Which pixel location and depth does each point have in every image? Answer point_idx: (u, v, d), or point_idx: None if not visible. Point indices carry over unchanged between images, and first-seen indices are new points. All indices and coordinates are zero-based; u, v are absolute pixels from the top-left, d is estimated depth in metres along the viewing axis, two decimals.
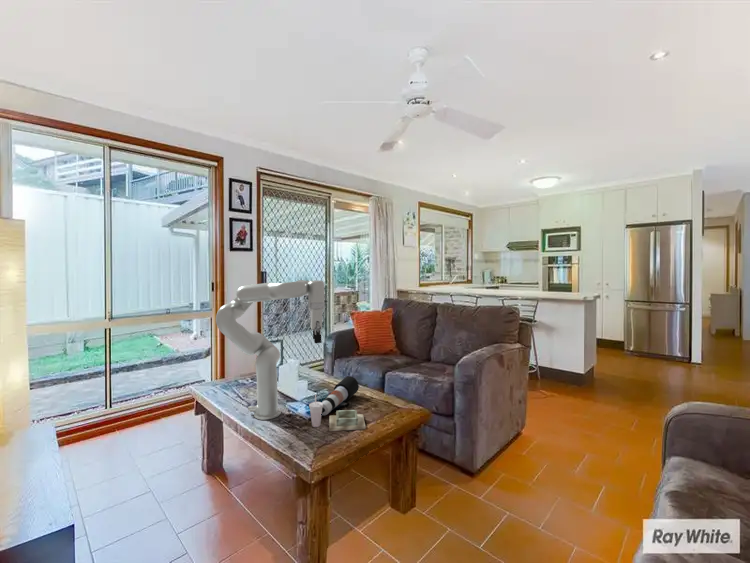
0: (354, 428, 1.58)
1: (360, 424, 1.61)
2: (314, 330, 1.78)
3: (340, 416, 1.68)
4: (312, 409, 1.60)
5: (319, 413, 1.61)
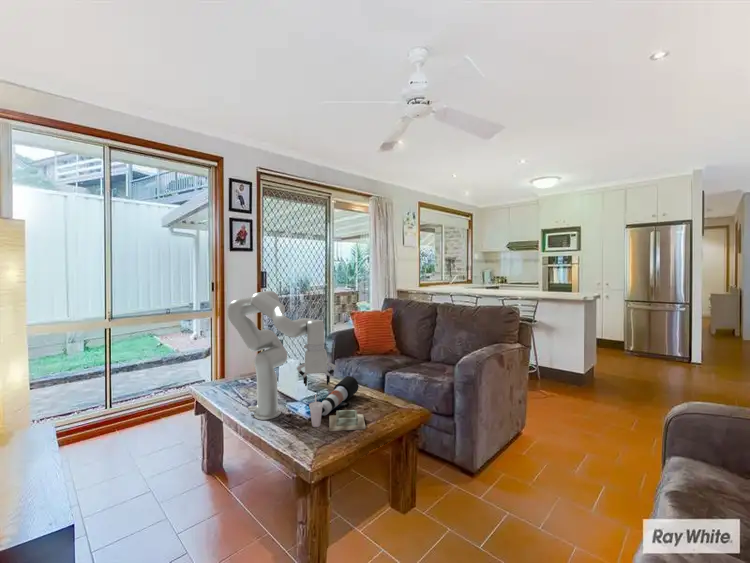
0: (354, 428, 1.58)
1: (360, 424, 1.61)
2: (304, 376, 1.60)
3: (340, 416, 1.68)
4: (312, 409, 1.60)
5: (319, 413, 1.61)
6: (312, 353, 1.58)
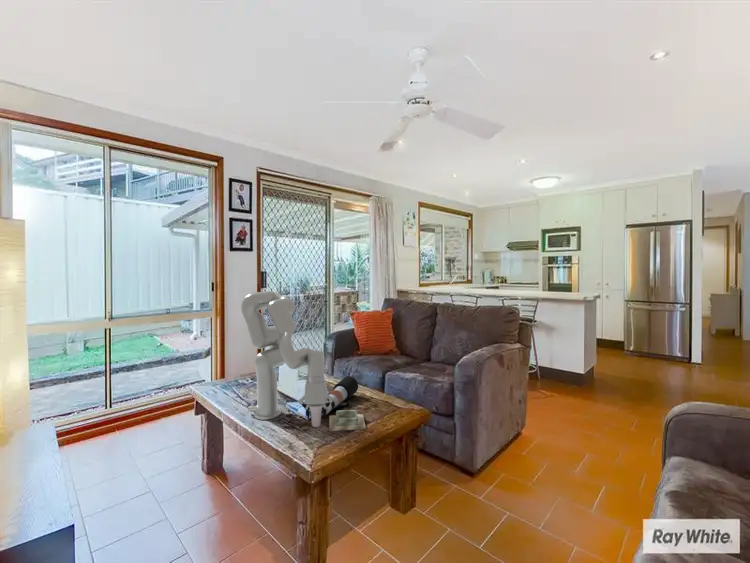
0: (354, 428, 1.58)
1: (360, 424, 1.61)
2: None
3: (340, 416, 1.68)
4: (312, 409, 1.60)
5: (319, 413, 1.61)
6: (312, 385, 1.59)
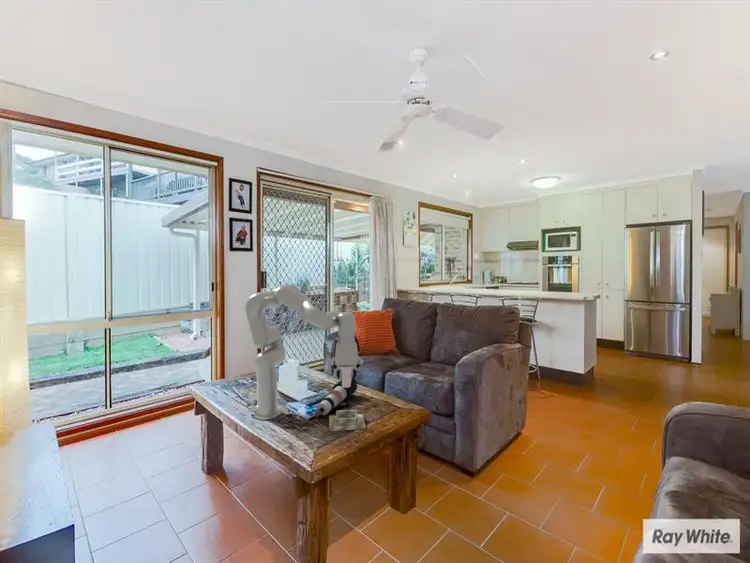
0: (354, 428, 1.58)
1: (360, 424, 1.61)
2: None
3: (340, 416, 1.68)
4: (343, 370, 1.60)
5: (350, 374, 1.61)
6: (343, 345, 1.59)
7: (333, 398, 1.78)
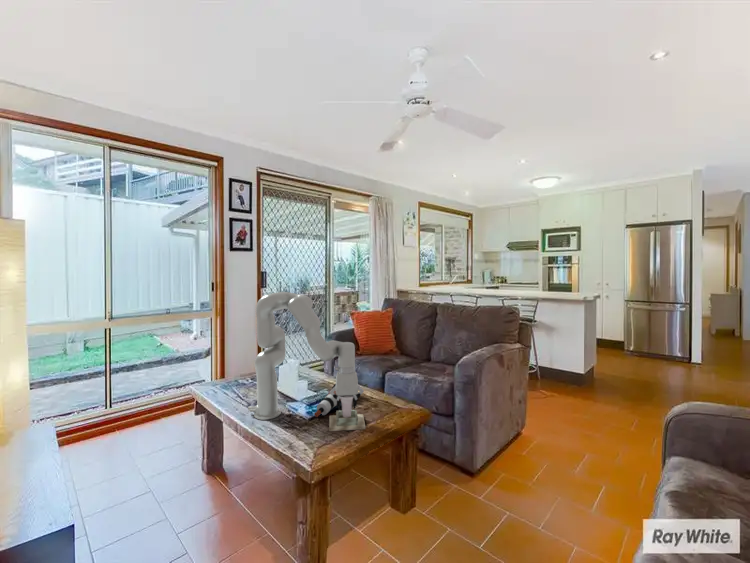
0: (354, 428, 1.58)
1: (360, 424, 1.61)
2: None
3: (340, 416, 1.68)
4: (343, 400, 1.61)
5: (350, 404, 1.62)
6: (343, 376, 1.60)
7: (333, 398, 1.79)
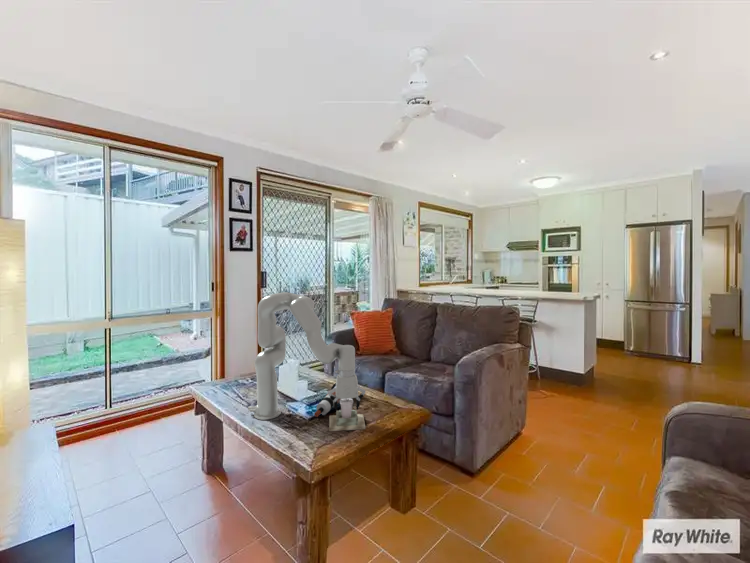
0: (354, 428, 1.58)
1: (360, 424, 1.61)
2: None
3: (340, 416, 1.68)
4: (343, 405, 1.61)
5: (350, 409, 1.62)
6: (343, 379, 1.60)
7: None
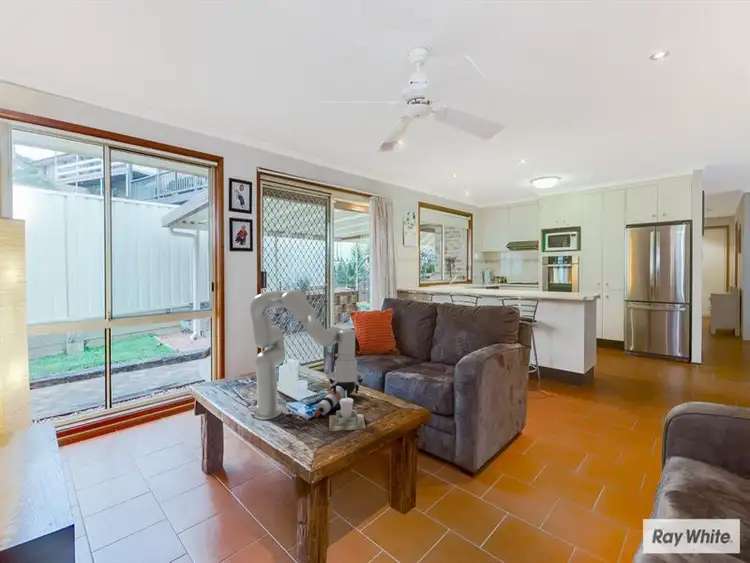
0: (354, 428, 1.58)
1: (360, 424, 1.61)
2: (334, 384, 1.62)
3: (340, 416, 1.68)
4: (343, 405, 1.61)
5: (350, 409, 1.62)
6: (343, 362, 1.60)
7: (332, 398, 1.79)
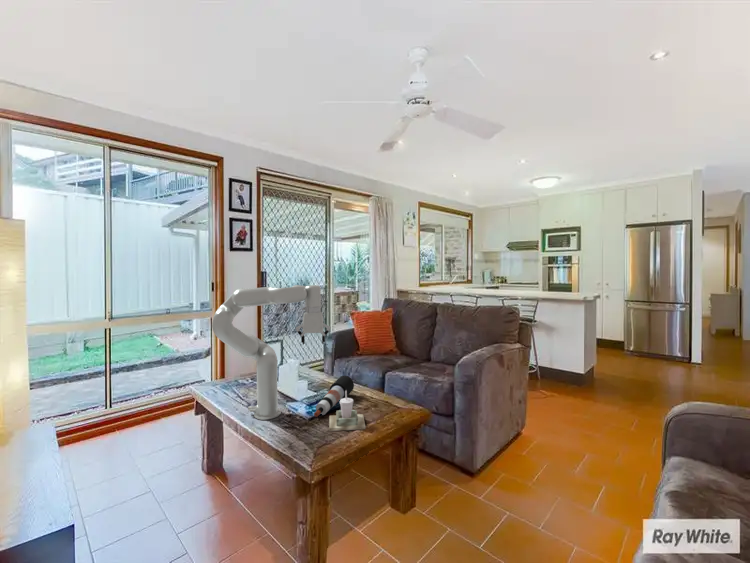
0: (354, 428, 1.58)
1: (360, 424, 1.61)
2: (302, 336, 1.78)
3: (340, 416, 1.68)
4: (343, 405, 1.61)
5: (350, 409, 1.62)
6: (309, 314, 1.76)
7: (331, 398, 1.79)
